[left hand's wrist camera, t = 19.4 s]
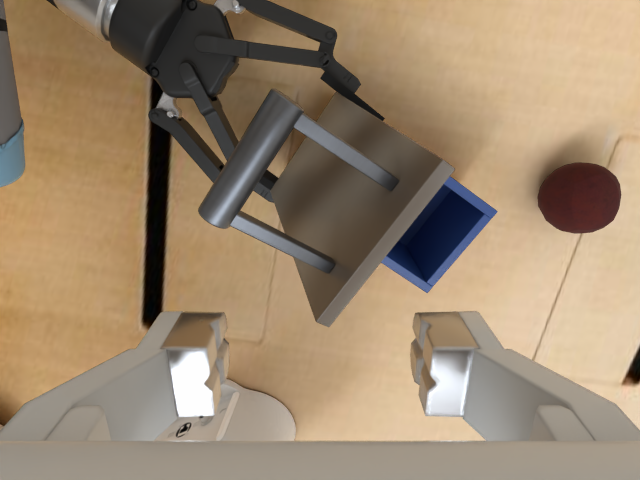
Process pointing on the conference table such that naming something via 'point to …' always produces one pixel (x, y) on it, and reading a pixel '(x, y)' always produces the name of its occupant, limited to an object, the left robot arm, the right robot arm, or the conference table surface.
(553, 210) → the dark red ball
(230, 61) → the right robot arm
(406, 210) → the lid
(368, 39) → the conference table surface
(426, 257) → the chest
